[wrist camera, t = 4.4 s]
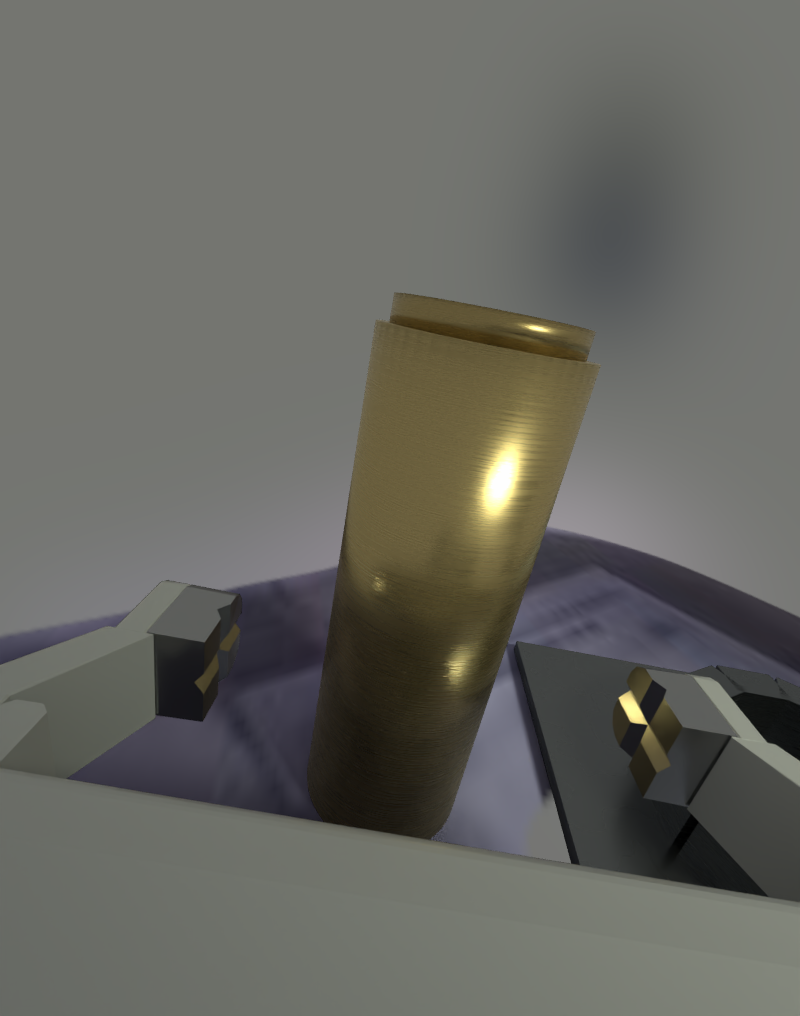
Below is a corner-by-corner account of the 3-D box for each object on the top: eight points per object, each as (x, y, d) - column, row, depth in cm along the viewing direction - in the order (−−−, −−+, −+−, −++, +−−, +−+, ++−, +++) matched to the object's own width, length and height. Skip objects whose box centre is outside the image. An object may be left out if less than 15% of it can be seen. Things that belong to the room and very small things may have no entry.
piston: (450, 726, 18) (570, 331, 13) (459, 865, 14) (655, 340, 8) (324, 703, 18) (388, 295, 13) (289, 836, 13) (368, 283, 8)
